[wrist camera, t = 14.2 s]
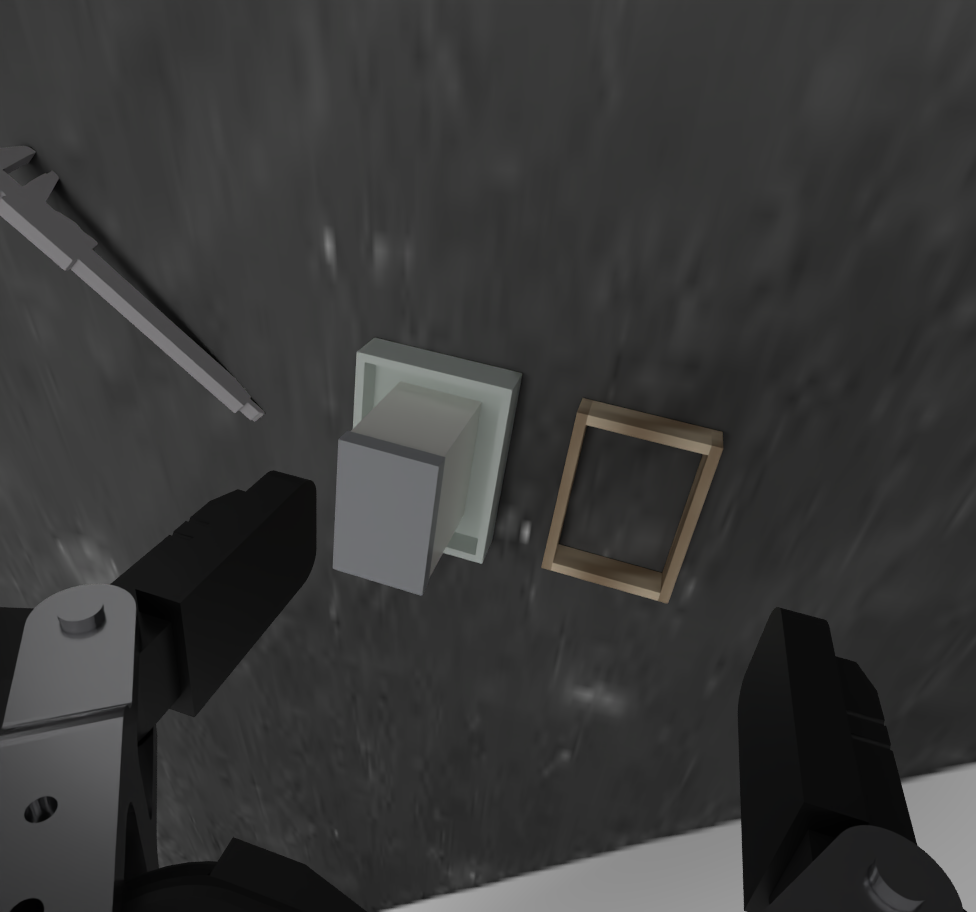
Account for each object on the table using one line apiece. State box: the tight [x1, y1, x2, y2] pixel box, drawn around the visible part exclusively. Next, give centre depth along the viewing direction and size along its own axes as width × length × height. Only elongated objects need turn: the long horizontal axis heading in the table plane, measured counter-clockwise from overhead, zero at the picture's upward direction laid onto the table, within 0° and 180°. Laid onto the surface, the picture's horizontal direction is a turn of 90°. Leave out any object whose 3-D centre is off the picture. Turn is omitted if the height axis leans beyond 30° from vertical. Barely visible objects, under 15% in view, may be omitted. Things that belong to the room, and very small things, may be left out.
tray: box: [353, 338, 523, 564], centre depth 43 cm, size 9×12×2 cm
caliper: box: [0, 146, 265, 421], centre depth 42 cm, size 20×1×6 cm, turn 38°
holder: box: [541, 398, 723, 604], centre depth 41 cm, size 8×11×2 cm
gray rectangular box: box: [333, 381, 482, 596], centre depth 40 cm, size 5×8×8 cm, turn 170°
